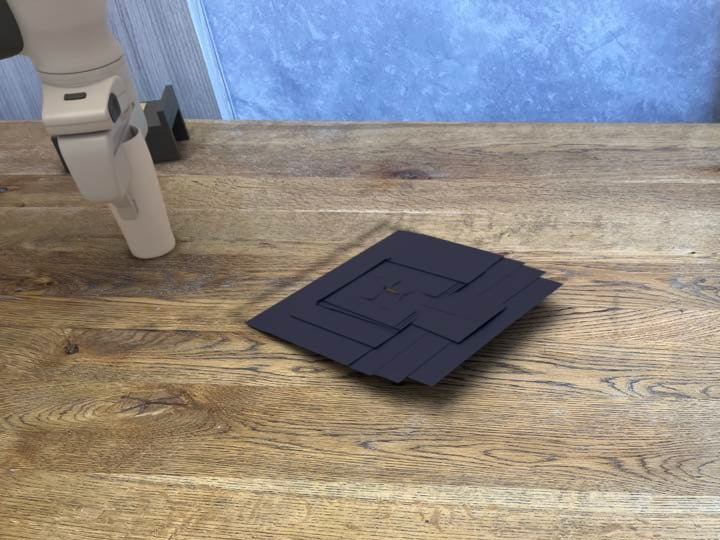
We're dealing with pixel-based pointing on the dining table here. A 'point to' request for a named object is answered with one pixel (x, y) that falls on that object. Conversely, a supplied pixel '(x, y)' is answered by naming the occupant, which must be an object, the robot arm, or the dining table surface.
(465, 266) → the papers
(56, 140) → the dark box with label
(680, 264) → the dining table surface
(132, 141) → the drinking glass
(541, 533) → the dining table surface
